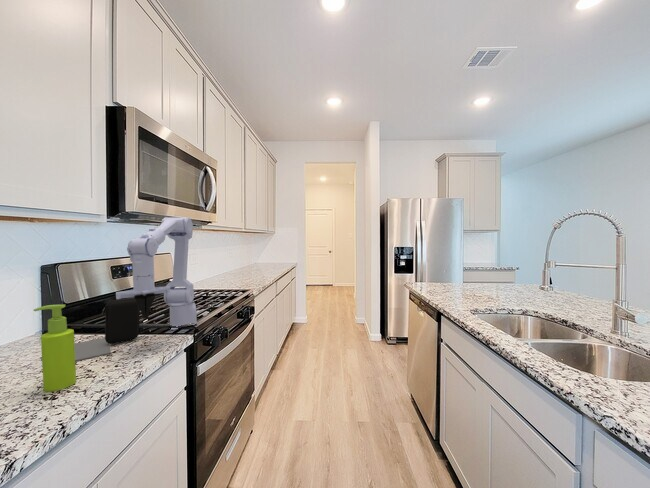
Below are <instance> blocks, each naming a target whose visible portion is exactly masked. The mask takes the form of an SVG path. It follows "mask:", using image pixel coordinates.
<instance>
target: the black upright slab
mask: <svg viewBox="0 0 650 488" xmlns="http://www.w3.org/2000/svg"><path fill="white" fill-rule="evenodd" d="M140 313H141V310H140V307H139V305H138V303H137V302H136V300H135V298H134V297H130V298H121V299H113V300H110V301H108V303H107V304H105V306H104V307H103V309H102V312H101V316H102V317H103V316H104V315H105V316H104V318H105V319H104V320H105V322H104V324H105V325H104V329H105V330H104V338H105V340H106V342H107V343H109V344H110V345H114V344H119V343H124V342H129V341H130V342H131V341H133V340H136V339H137V338H138V337H139V335H140Z"/></svg>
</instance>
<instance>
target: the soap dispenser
mask: <svg viewBox="0 0 650 488" xmlns="http://www.w3.org/2000/svg"><path fill="white" fill-rule="evenodd" d="M64 308H66V303H65V304H62V303H61V304H49V305H43V306H40V307H37V308H34V309H33V311H34V312H39V311H42V310H51V318H49V319H47V332H45V333H43V334H41V336H40V344H41V347H40V348H41V363H42V366H41V367H42V368H41V369H42V383H43V384H42V387H43V392H47V393H49V392H58V391H61V390H63V389H66V388H69V387H71V386H73V385H74V384H76V383H77V371H76V370H77V369H76V367H77V366H76V362H75V345H74V343H75V331H74V329H72V328H68V321H67V319H68V318H67V316H63V315H62V314H63V312H62V309H64Z"/></svg>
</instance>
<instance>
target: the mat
mask: <svg viewBox="0 0 650 488" xmlns="http://www.w3.org/2000/svg"><path fill="white" fill-rule="evenodd" d="M74 345H75V363H76V362H79V361H80V362H81V361H83V360H89V359H94V358H98V357H102V356H107V355H111V354H112V350H111V344H109V343H107V342H106V340H105V337H100V338H95V339H91V340H86V341H81V342H74Z"/></svg>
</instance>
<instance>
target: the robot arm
mask: <svg viewBox="0 0 650 488" xmlns="http://www.w3.org/2000/svg"><path fill="white" fill-rule="evenodd" d="M193 230H194V224H193V220H192V219H191V218H190V217H189V216H186V217H183V216H182V217H181V216H180V217H167V216H165V217H164V218H162V219H161V224H160V225H158V227H150V228H149V229H148V231H146V232H145V233H143V234H142V235H141V236H140V237H137V238H132V239H131V240H130V241H129V242H128V243H127V247H126V251H127V253H128V255H129V261H130V262H131V265H132V283H133V286H132V287H133V289H130V290H129V289H128V290H124V291H123V290H122V291H117V292H115V300H121V299H129V298H135V300H136V302H137V303H138V305H139V307H140V313H141V318H142V319H143V320H144V319H145V320H146V319H149V314H150V310H151V307H152V305H153V303H154V300H155V298H156V295H158V294H163V300H164V302H165V303H166V304H167V306H169V322H170V323H169V324H170V325H172V326H176V327H178V326H181V325H184V324H187V323H197V324H198V322H197V320H198V319H197V318H198V317H197V306H196V303H195V302H193V301H194V298H195V291H194V284H193V283H192V282H190V281H189V280H188V279H187V277H188V275H187V274H188V260H189V259H188V256H189V241H190V239H193ZM166 236H168V238H169V239H170V240H173V241H174V256H173V267H172V268H173V269H172V270H173V271H172V280H171V281H169V282H168V283H167V284H166V286H155V265H154V264H155V261H154V260H155V259H154V256H155V255H156V254H157V252H158V249H159V246H161V244H162V243H164V241H165V240H166ZM170 330H171V331H175V330H179V329H178V328H171V329H170Z"/></svg>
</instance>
